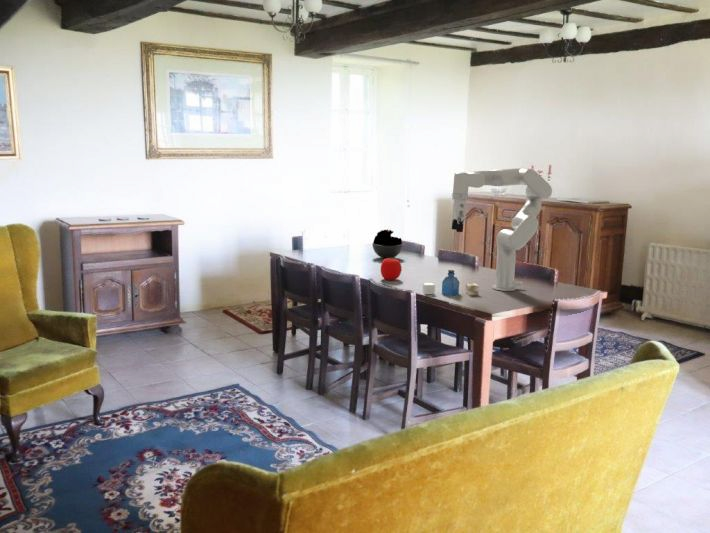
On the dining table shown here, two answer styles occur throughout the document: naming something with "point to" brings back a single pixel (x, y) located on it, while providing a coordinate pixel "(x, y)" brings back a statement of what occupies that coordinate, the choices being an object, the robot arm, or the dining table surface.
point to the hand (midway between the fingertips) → (457, 230)
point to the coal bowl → (387, 244)
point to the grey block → (428, 288)
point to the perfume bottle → (450, 284)
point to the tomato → (390, 269)
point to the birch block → (472, 289)
